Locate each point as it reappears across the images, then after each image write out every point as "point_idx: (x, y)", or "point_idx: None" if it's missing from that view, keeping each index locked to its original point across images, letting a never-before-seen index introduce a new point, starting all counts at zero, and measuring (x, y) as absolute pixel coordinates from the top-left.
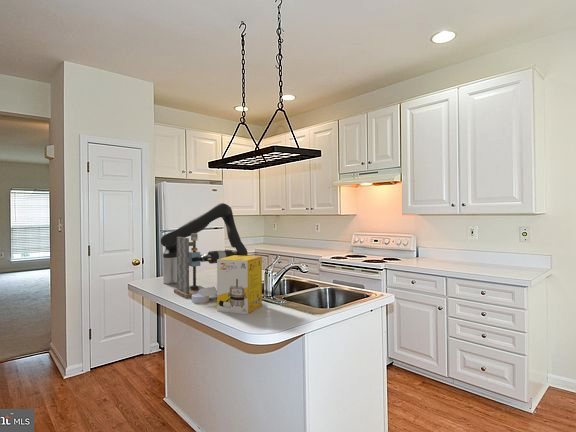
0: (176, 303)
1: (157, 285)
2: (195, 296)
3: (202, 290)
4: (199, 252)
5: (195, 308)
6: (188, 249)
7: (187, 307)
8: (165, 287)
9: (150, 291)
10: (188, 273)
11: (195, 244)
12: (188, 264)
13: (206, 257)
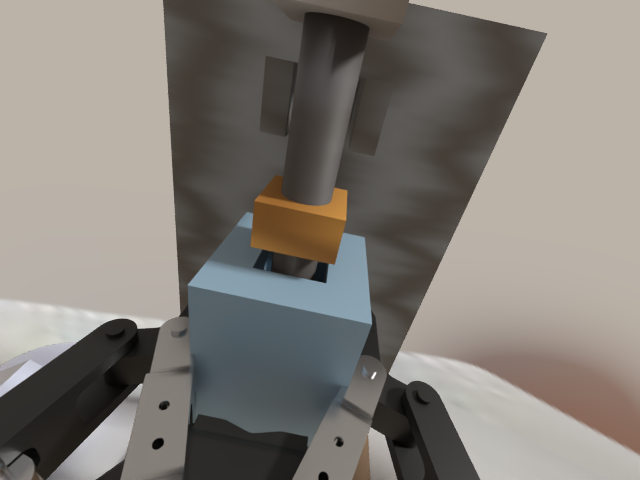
0: (162, 321)
1: (607, 465)
2: (58, 349)
3: (10, 371)
4: (195, 278)
5: (8, 318)
6: (172, 112)
7: (64, 311)
8: (532, 470)
9: (446, 366)
10: (182, 306)
11: (291, 121)
12: (179, 249)
13: (11, 394)
